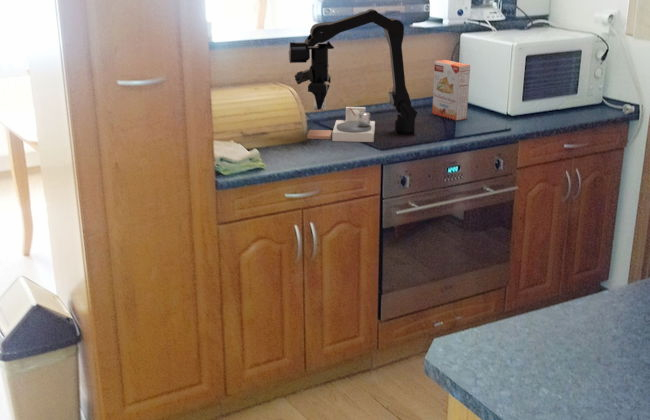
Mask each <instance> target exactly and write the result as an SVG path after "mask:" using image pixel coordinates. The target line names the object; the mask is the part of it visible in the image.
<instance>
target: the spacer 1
mask: <svg viewBox="0 0 650 420" xmlns="http://www.w3.org/2000/svg"><path fill="white" fill-rule="evenodd" d="M326 97H327V95H326V96H325V99H324V102H323V105H322V107H321V109H318V108H317V104H316V100H315V96H314V95H313V109H314V110H315V111H326V106H327V105H326V104H327V102H326V100H327V99H326Z"/></svg>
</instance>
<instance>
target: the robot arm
mask: <svg viewBox="0 0 650 420" xmlns="http://www.w3.org/2000/svg"><path fill="white" fill-rule="evenodd" d="M371 23H373V24H375V25H377V26H378V27H381V28H382V29H383V32H384V36H385V39H386V42H387V43H388V47H389V55H390V57H389V58H390V66H391V76H392V84H393V85H392V91H388V92H387V93H388V97H389V100H388V103H389V104H390V105H391V106H392V108H393V109H394V110H395V112H396V118H395V124H394V125H395V126H394V130H395V131H394V132H395V133H396V135H408V136H410V135H411V136H415V135H416V130H415V129H416V128H415V127H416V119H417V116H418V111H417V110H416V109H415V108H414V107H413V106H412V102H411V97H410V95H409V92H408V89H407V86H406V78H405V67H404V57H403V47H402V46H403V41H404V36H405V26H404V23H403V22H402V21H401V20H399V19H397V18H394V17H387V16H385V15H383V14H381V13H380V12H378V11H377V10H375V9H374V8H370V9H367V10H365V11H362V12H359V13H356V14H353V15H351V16H347V17H345V18H341V19H339V20H335V21H334V20H333V21H325V22H317V23H315V24H313V25H312V26H311V28H310V29H309V30H310V31H309V35H308V36H307V38H306V39H305V41H304V42H295V41H290V42H289V47H288V48H289V51H288V60H289V61H288V62H289V64H296V63H299V64H303V63H304V64H305V63H307V62H308V61H309V60H310V62H311V63H310V66H309V69H305V70H303V71H302V70H300V71H297V72H296V73H295V74H294V80H295V82H296V84H297V85H301V84H302V83H305V82H307V81H309V82H310V83H309V84H308V85H307V92H309V93H311V94H312V95H313V97H314V96H315V100H316V104H317V108H318V109H321V107H322V105H323V102H324V99H325V96H326V97H327V94H328V91H329V89H330V84H331V82H332V76H331V75H330V74H329V67H330V65H329V50H334V48H335V46H334V45H332V44H331V41H329V40H330V39H332V38H334V37H336V36H337V35H338V34H341V33H344V32H348V31H349V30H350V31H351V30H352V29H353V30H354V29H355V28H359V27H361V26H364V25H368V24H371ZM310 58H311V59H310ZM327 82H328V83H327Z"/></svg>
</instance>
